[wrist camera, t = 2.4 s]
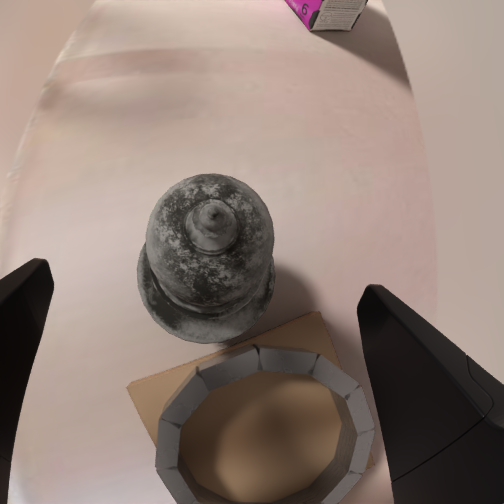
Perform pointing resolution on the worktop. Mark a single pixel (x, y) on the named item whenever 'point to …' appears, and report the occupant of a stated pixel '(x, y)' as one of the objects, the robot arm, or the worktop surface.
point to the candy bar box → (328, 13)
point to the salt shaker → (207, 259)
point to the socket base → (259, 421)
